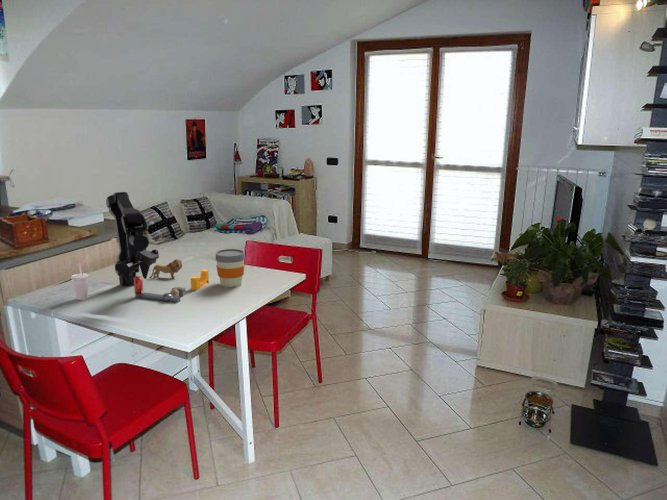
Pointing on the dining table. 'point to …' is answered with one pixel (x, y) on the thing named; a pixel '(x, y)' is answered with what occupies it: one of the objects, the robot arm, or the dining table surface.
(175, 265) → the lion figurine
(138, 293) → the lever
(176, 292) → the tan rounded piece
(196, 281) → the pipe clamp
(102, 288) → the dining table surface
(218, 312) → the dining table surface
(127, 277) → the robot arm
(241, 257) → the reusable coffee cup
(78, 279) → the smoothie
